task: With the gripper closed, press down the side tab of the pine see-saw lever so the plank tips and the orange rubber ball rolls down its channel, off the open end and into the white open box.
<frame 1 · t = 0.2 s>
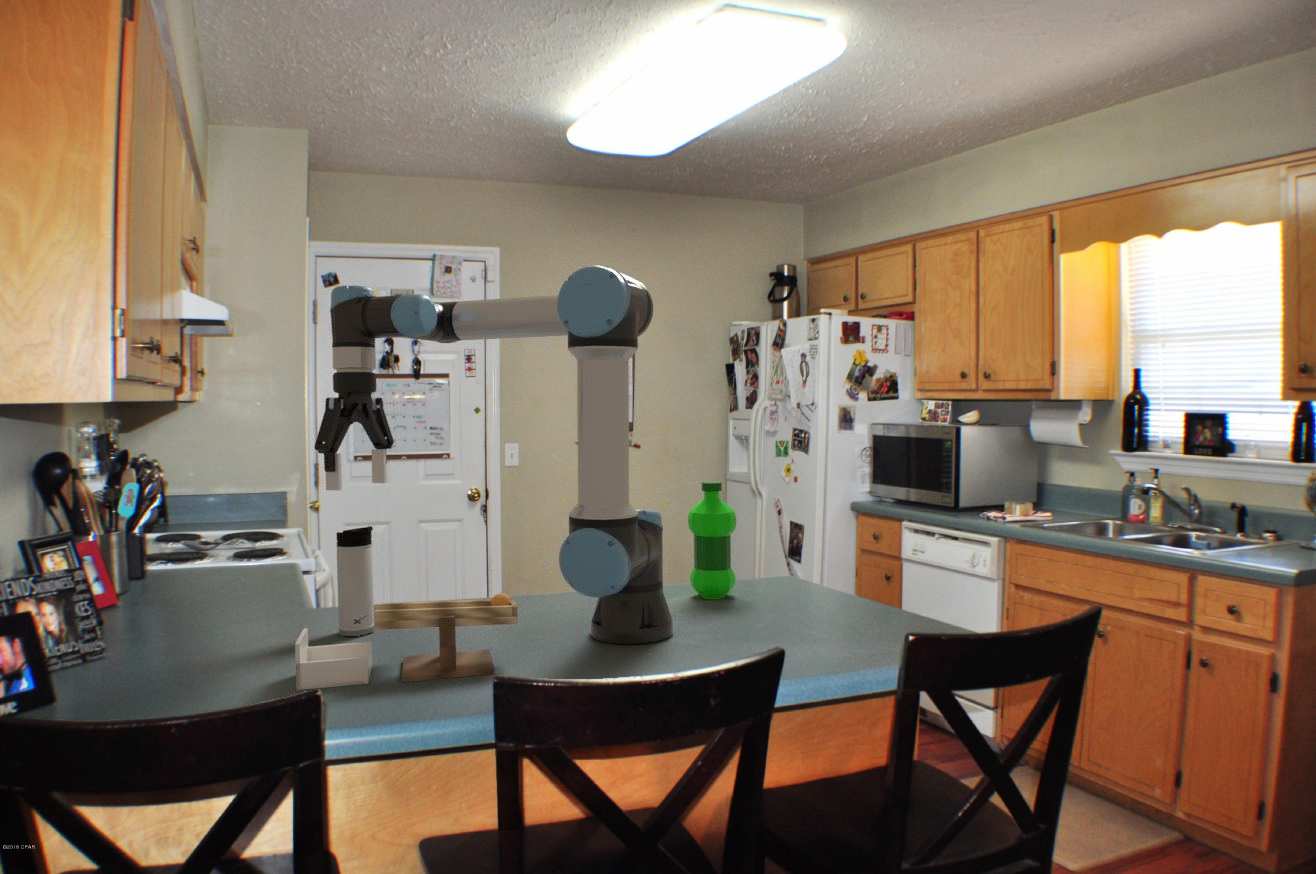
hand: (357, 486, 157), 28 cm above the counter, fingers open, 13 cm apart
ball: (501, 603, 140), point 10 cm above the counter, tilted 24°, touching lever
stand: (447, 667, 138), on the counter
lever: (446, 608, 141), point 9 cm above the counter, hinge at -2.2°, touching ball
travel mug: (357, 633, 160), on the counter
white open box: (335, 677, 133), on the counter
plastic bottle: (712, 597, 186), on the counter
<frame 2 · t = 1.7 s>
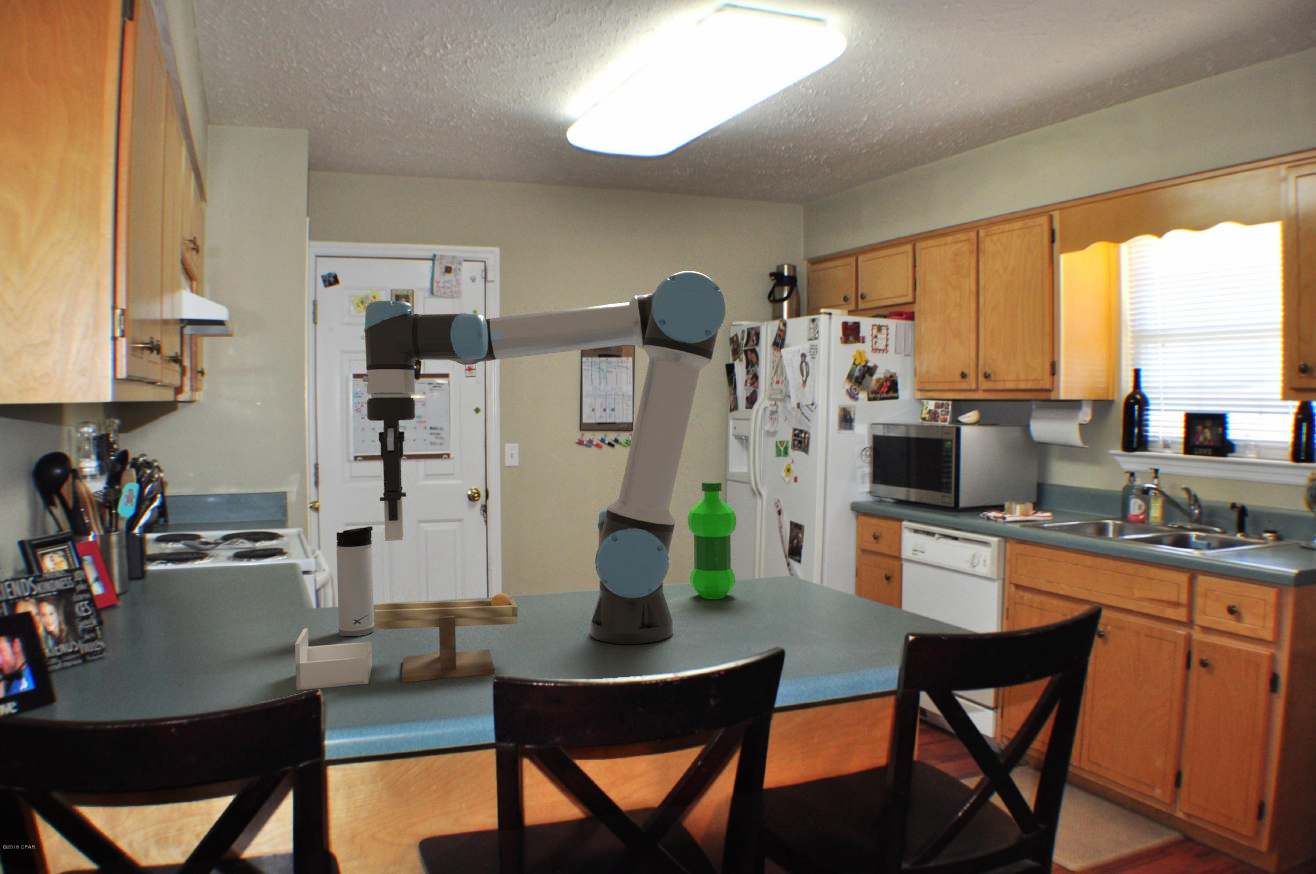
hand: (394, 538, 141), 21 cm above the counter, fingers open, 3 cm apart
nothing on the counter moved.
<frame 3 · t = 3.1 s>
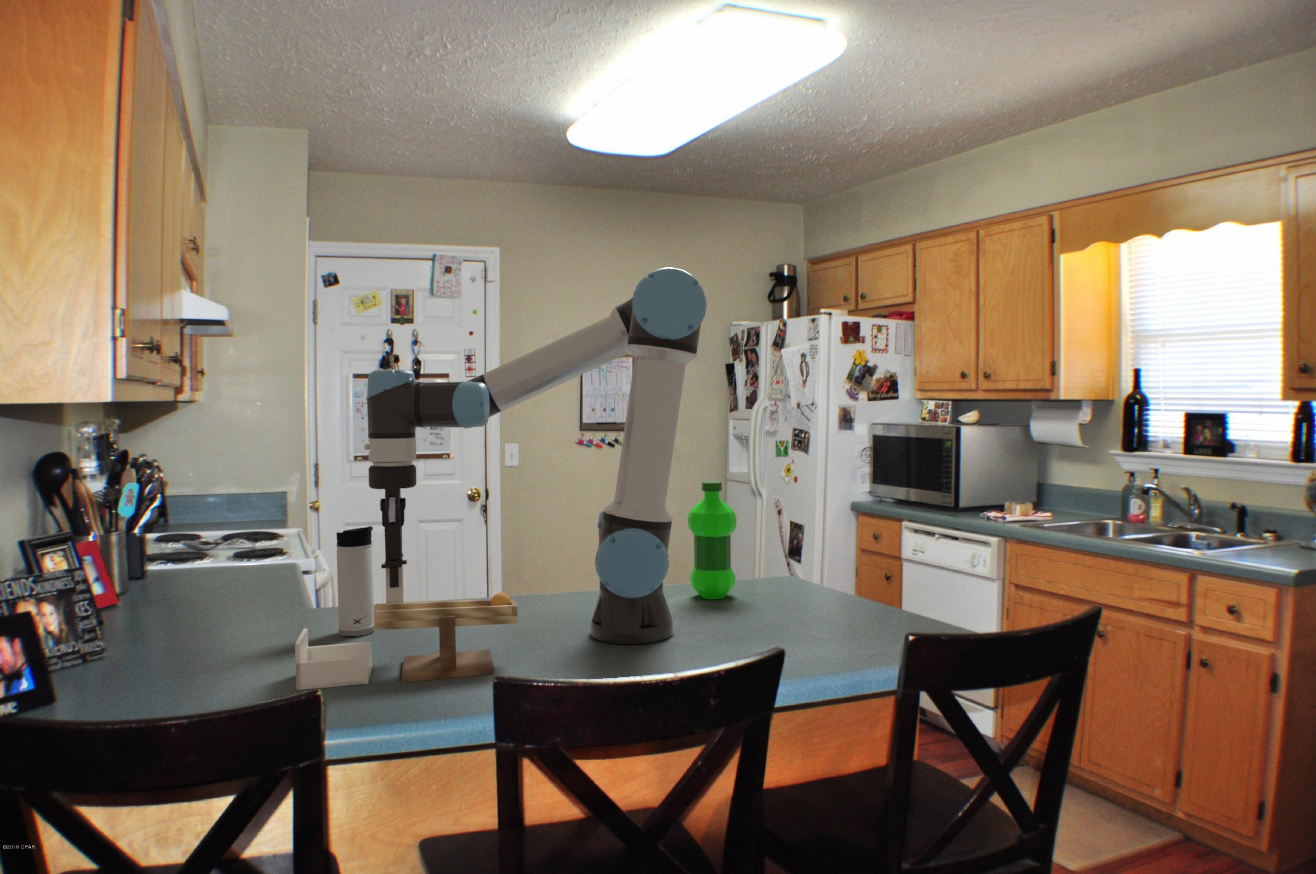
hand: (395, 605, 141), 9 cm above the counter, fingers closed
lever: (446, 608, 141), point 9 cm above the counter, hinge at -1.8°, touching ball, gripper
everything else where it was.
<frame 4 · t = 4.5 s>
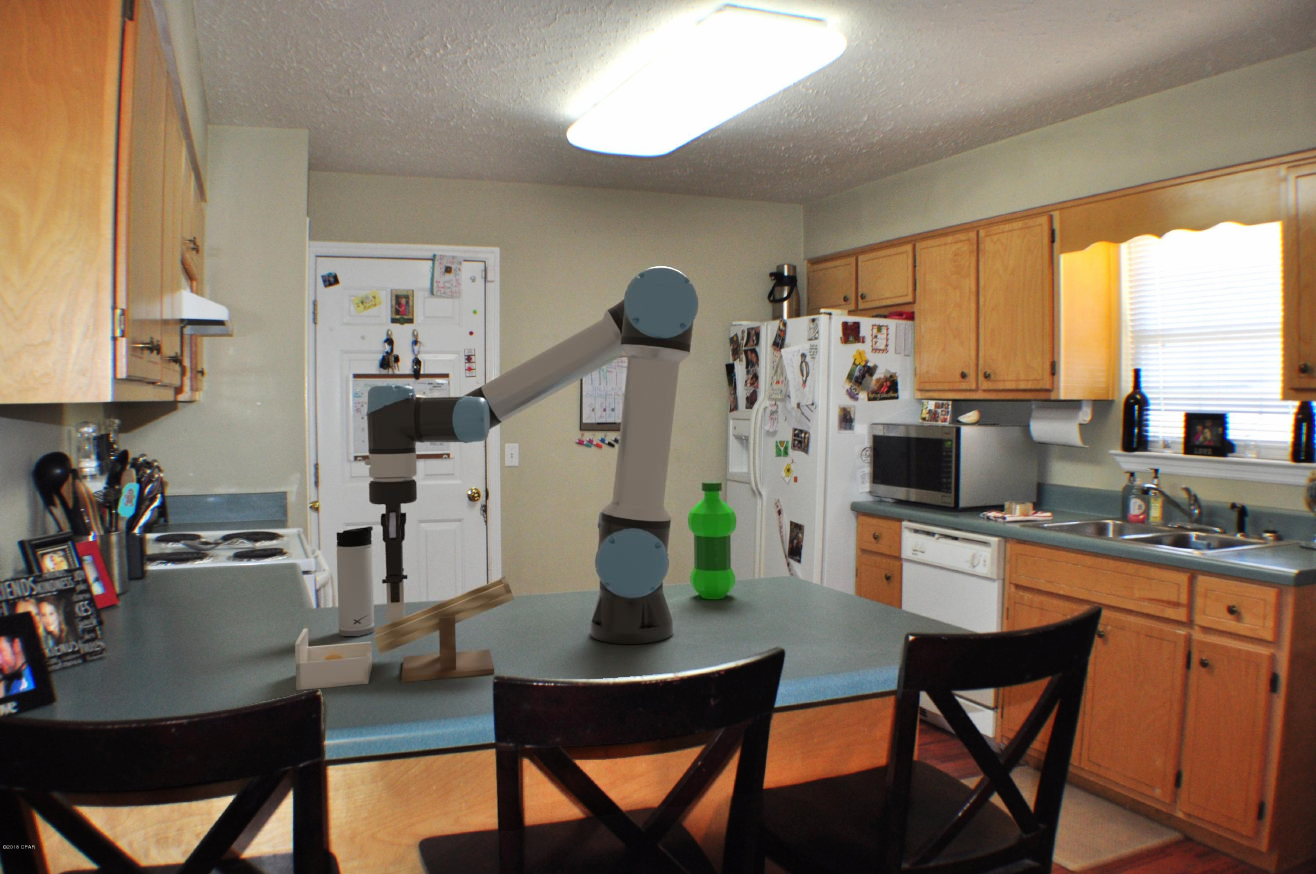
hand: (395, 620, 141), 7 cm above the counter, fingers closed
ball: (333, 664, 133), point 2 cm above the counter, tilted 15°, touching white open box
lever: (444, 609, 141), point 9 cm above the counter, hinge at 19.0°, touching gripper
everything else where it was.
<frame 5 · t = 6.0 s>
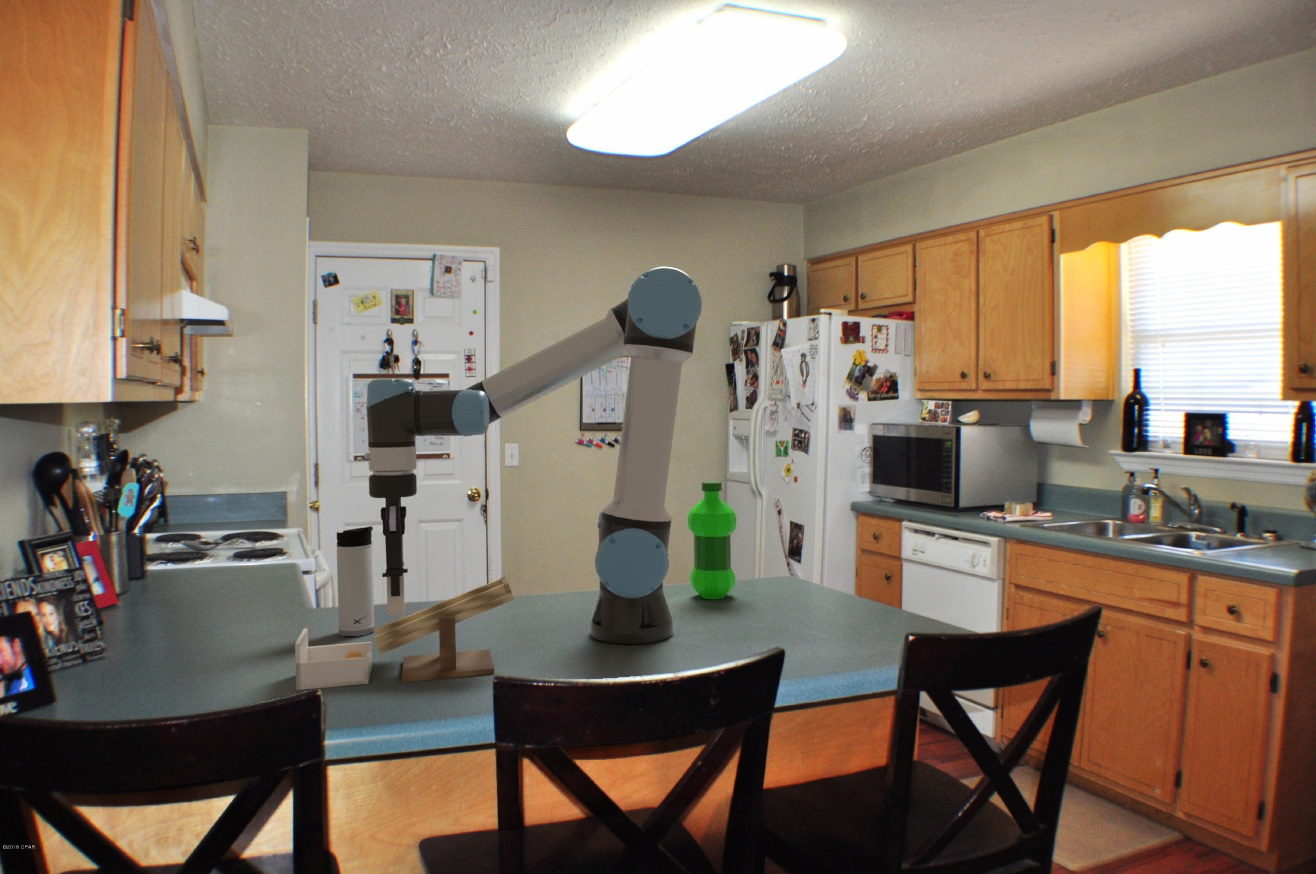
hand: (396, 614, 141), 8 cm above the counter, fingers closed
ball: (353, 662, 134), point 2 cm above the counter, tilted 123°, touching white open box
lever: (444, 609, 141), point 9 cm above the counter, hinge at 19.0°
everything else where it was.
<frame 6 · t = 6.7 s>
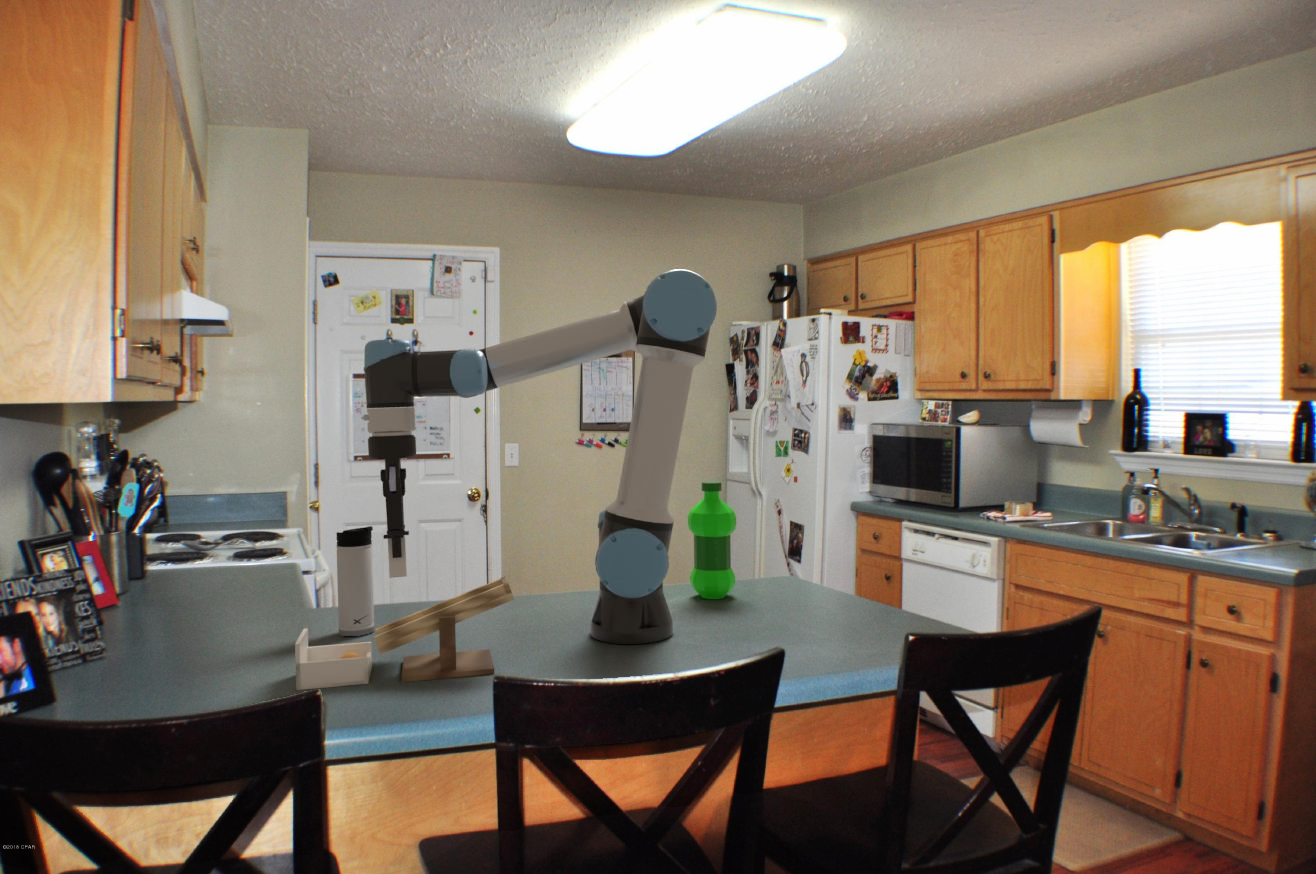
hand: (398, 576, 141), 14 cm above the counter, fingers closed
ball: (350, 662, 134), point 2 cm above the counter, tilted 104°, touching white open box
everything else where it was.
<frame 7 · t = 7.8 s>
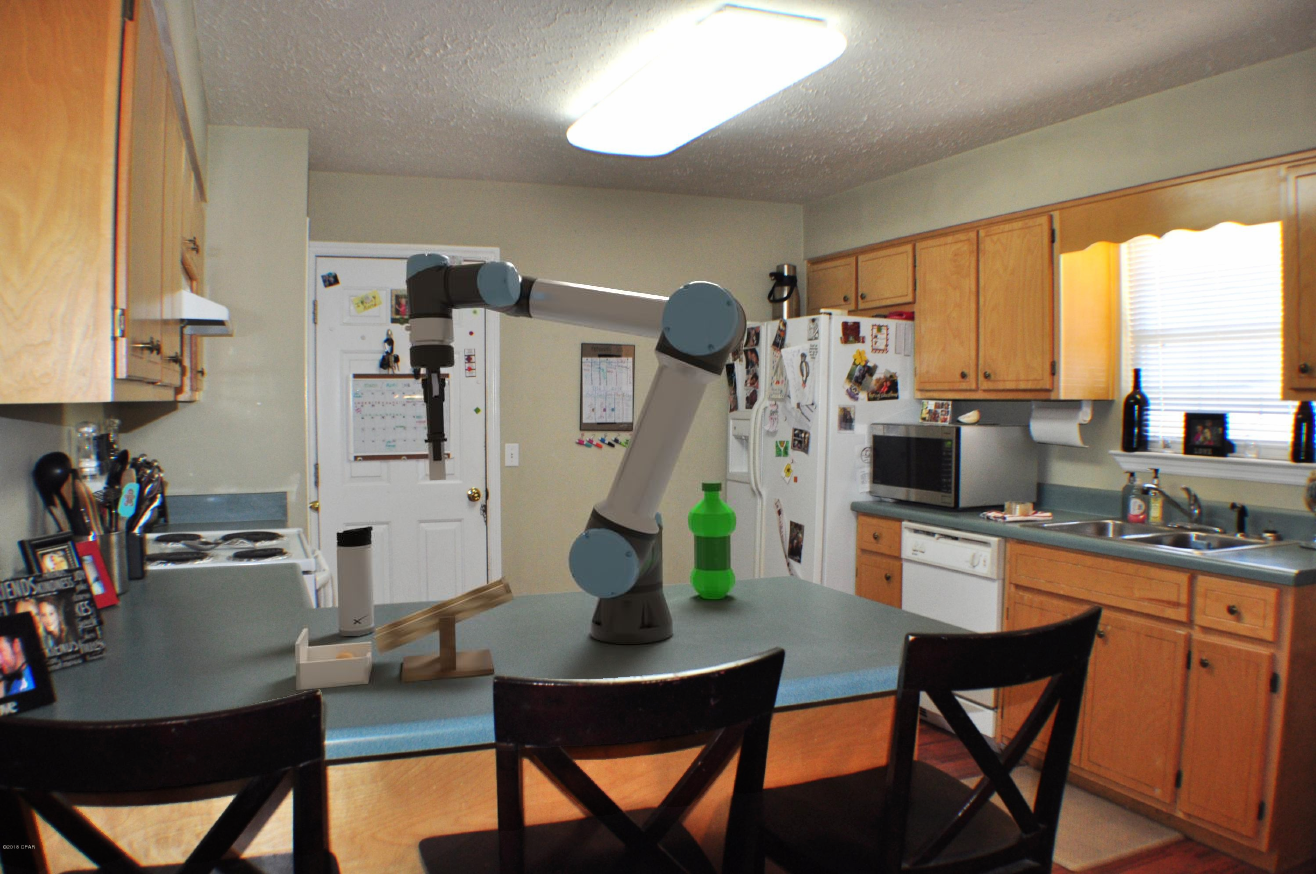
hand: (437, 479, 149), 29 cm above the counter, fingers closed
ball: (344, 663, 134), point 2 cm above the counter, tilted 76°, touching white open box
everything else where it was.
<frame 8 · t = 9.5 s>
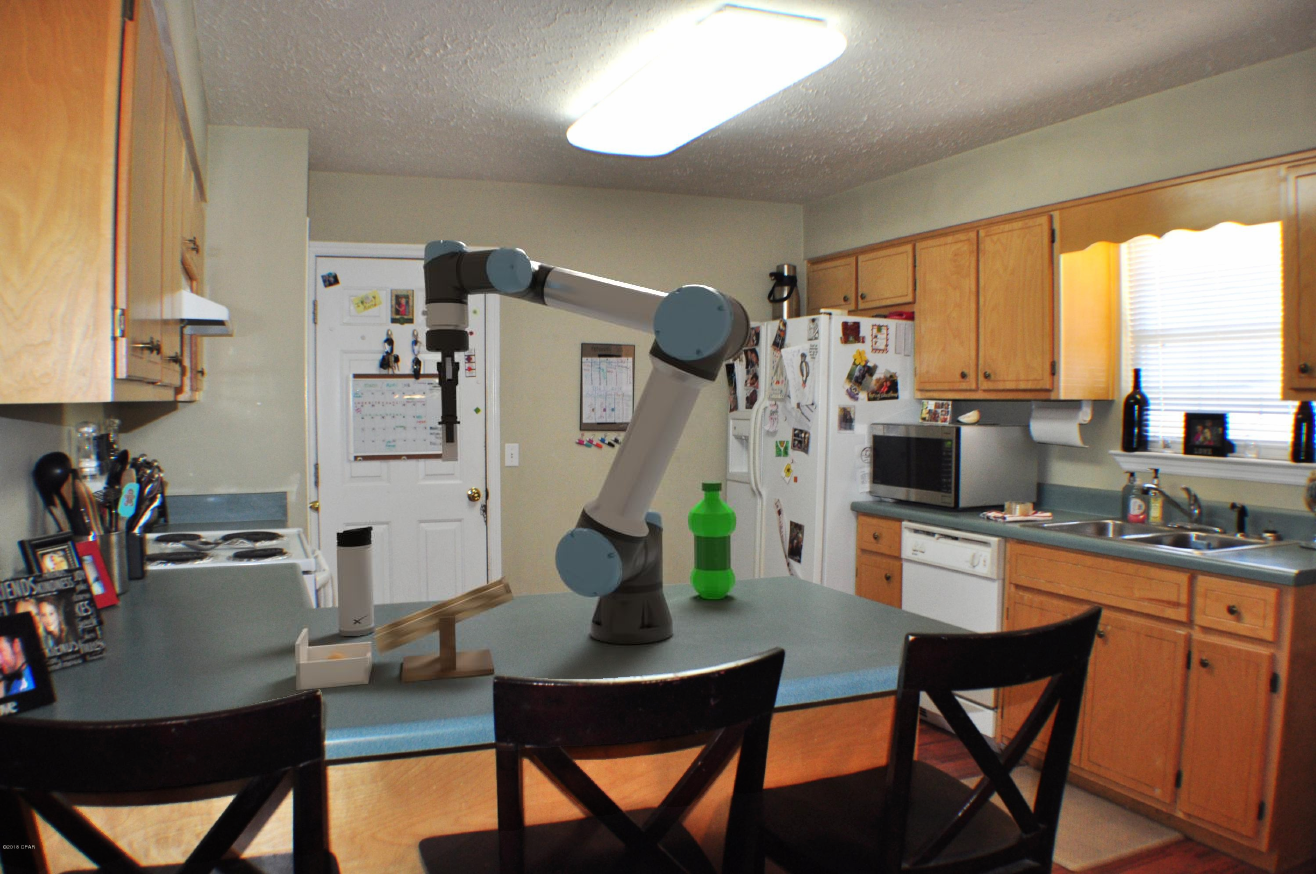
hand: (450, 460, 153), 32 cm above the counter, fingers closed
ball: (336, 664, 133), point 2 cm above the counter, tilted 31°, touching white open box
everything else where it was.
at the end: ball 0.1 cm from the white open box (horizontally); ball point 2.1 cm above the counter; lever at +19° (first picture: -2°) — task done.
